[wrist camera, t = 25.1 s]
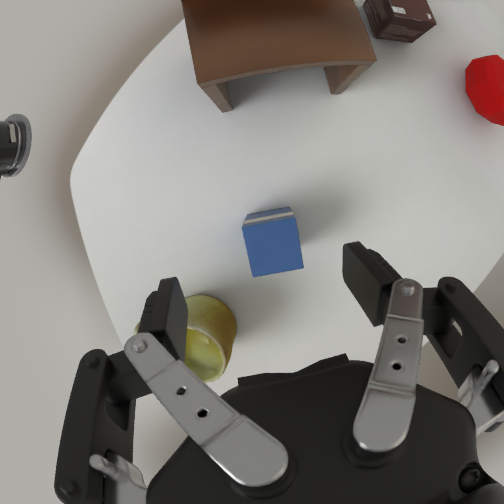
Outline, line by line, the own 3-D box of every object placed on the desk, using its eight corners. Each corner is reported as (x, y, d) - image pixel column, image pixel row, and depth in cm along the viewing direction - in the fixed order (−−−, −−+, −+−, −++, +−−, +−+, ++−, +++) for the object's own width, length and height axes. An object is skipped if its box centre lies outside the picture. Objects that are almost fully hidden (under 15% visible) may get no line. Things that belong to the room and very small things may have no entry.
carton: (297, 247, 33) (304, 268, 26) (255, 255, 34) (252, 277, 27) (289, 206, 32) (295, 216, 25) (246, 214, 32) (240, 227, 26)
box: (400, 10, 22) (421, -12, 15) (412, 44, 24) (438, 25, 17) (361, 4, 23) (378, -22, 16) (373, 38, 24) (394, 15, 17)
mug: (259, 303, 33) (226, 366, 25) (238, 347, 39) (209, 401, 31) (173, 259, 35) (124, 307, 27) (167, 309, 41) (129, 354, 33)
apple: (490, 67, 22) (528, 56, 13) (505, 129, 25) (548, 129, 16) (446, 57, 23) (487, 38, 14) (465, 126, 26) (512, 122, 17)
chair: (340, 93, 27) (425, 20, 8) (222, 112, 29) (158, 43, 10) (319, 25, 24) (361, -79, 5) (207, 42, 26) (148, -58, 7)
